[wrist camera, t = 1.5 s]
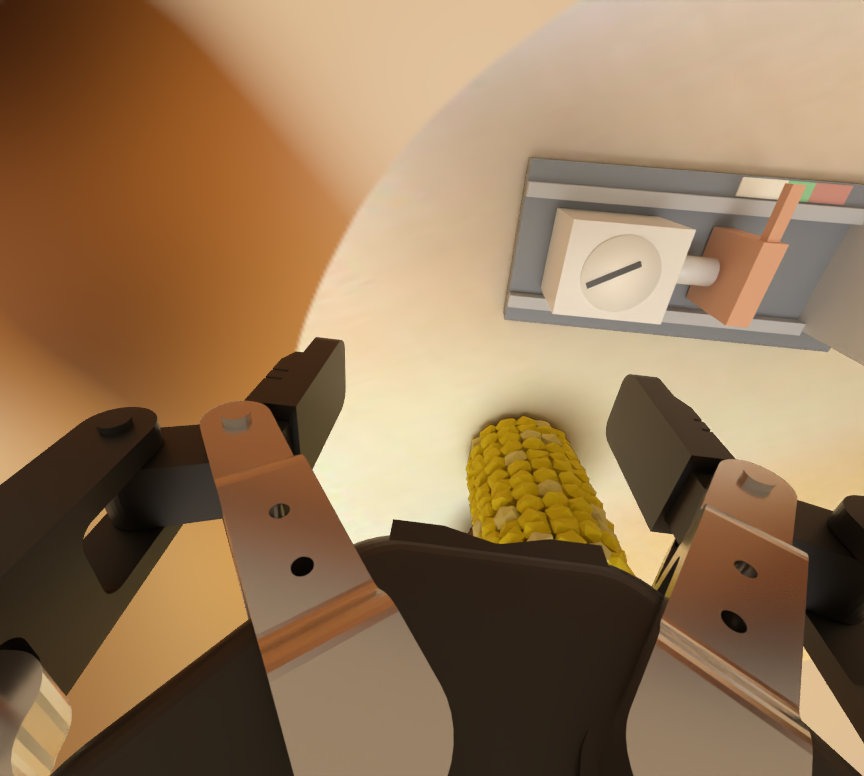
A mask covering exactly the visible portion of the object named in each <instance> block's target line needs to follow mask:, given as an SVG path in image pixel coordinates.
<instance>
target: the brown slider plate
mask: <svg viewBox="0 0 864 776" xmlns="http://www.w3.org/2000/svg"><path fill="white" fill-rule="evenodd" d="M806 186H807V185H800V184H789V183H785V185H784V187H783V189H782V192H781V194H780V196H779V198H778V200H777V203H776V205H775V207H774V209H773V211H772V214H771V216H770V218H769V220H768V222H767V225H766V227H765V229H764V231H763V233H762V235H761V236H759V235H755V234H752V233H749V232H745V231H742V230H738V229H735V228H725V227H713V230H712V233H711V235H710V238H709V240H708V243H707V245H706V248H705V250H704V253H703V255H702V257H710V258H717V259H718V260H719V263H720V270H719V274H718V276H717V278H716V280H715V282H714V283H713V284H712V285H710V286H696V285H691V286H690V288H689V291H688V293H687V296H686V298H687V299H688V300H690V301H691V302H693V303H694V304H695V305H697V306H698V307H700V308H701V309H703V310H704V311H705V312H707V313H708V314H710V315H711V316H713V317H714V318H715V319H717V320H718V321H720V322H721V323H723V324H724V325H725V326H734V327H744V328H748V327H749V325H750V323H751V321H752V319H753V317H754V315H755V313H756V311H757V309H758V307H759V305H760V303H761V301H762V299H763V297H764V295H765V293H766V291H767V289H768V287H769V285H770V283H771V281H772V279H773V277H774V275H775V273H776V271H777V269H778V267H779V264H780V262H781V260H782V258H783V256H784V254H785V252H786V250H787V248H788V246H789V244H786V243H782V242H780V240H781V238H782V236H783V234H784V232H785V230H786V228H787V225H788V223H789V221H790V219H791V217H792V215H793V213H794V211H795V209H796V207H797V205H798V203H799V201H800V198H801V196H802V194H803V192H804V190H805V188H806Z"/></svg>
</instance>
